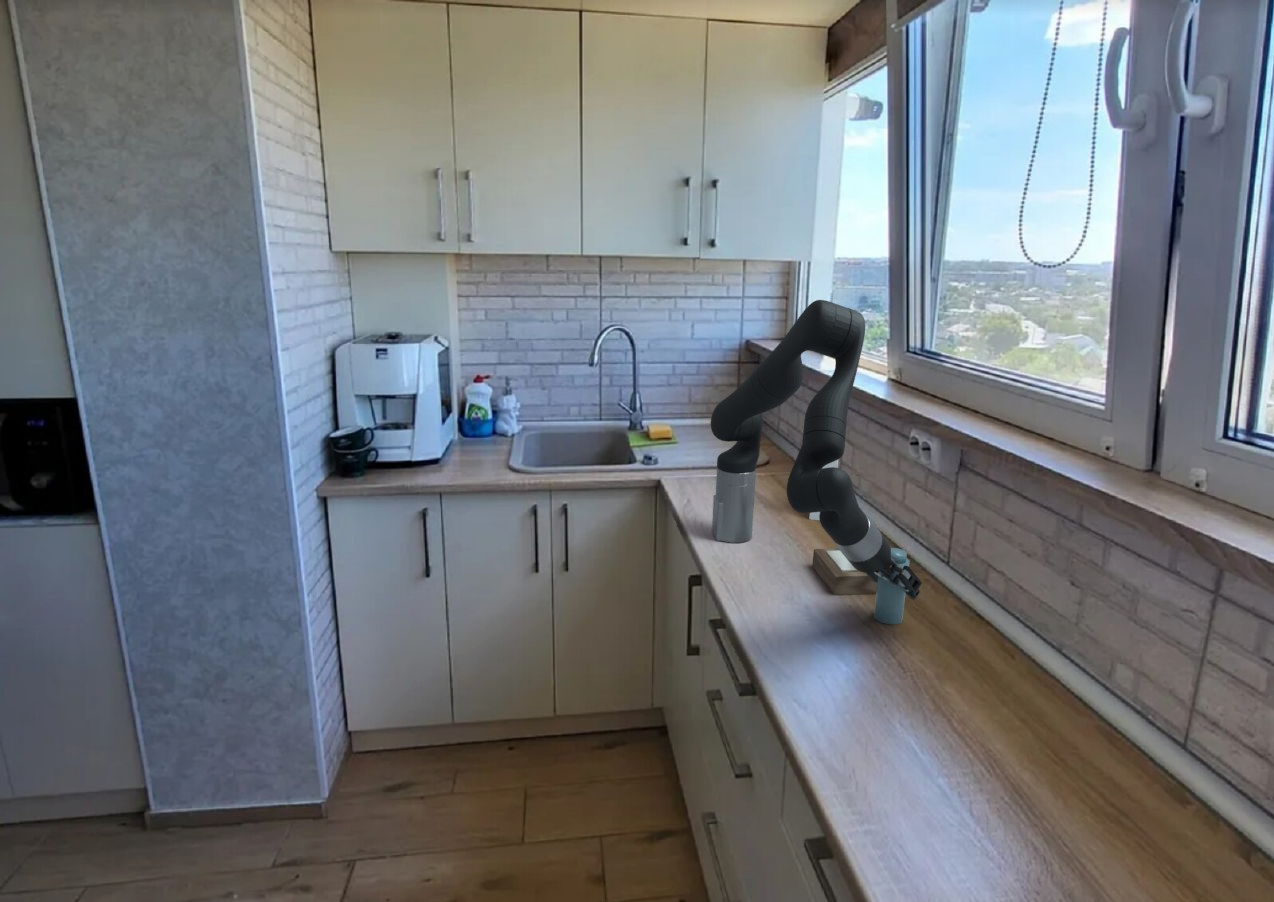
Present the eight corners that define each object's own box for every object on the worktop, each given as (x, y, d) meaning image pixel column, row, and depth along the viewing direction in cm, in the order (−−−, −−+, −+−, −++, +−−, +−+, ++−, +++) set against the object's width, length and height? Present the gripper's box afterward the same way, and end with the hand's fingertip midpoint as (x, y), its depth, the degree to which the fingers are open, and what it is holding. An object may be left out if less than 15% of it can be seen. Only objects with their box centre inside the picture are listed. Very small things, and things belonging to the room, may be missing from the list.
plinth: (834, 594, 149) (836, 574, 148) (812, 565, 162) (814, 547, 161) (900, 592, 150) (903, 573, 149) (873, 564, 164) (875, 546, 162)
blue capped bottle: (880, 624, 137) (887, 558, 134) (869, 611, 142) (876, 546, 139) (907, 624, 138) (915, 557, 134) (895, 610, 143) (903, 546, 139)
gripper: (906, 538, 125) (939, 584, 134) (841, 513, 136) (876, 557, 146) (882, 574, 124) (917, 618, 133) (819, 545, 135) (855, 588, 144)
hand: (896, 586), depth 139 cm, fingers open, 8 cm apart
